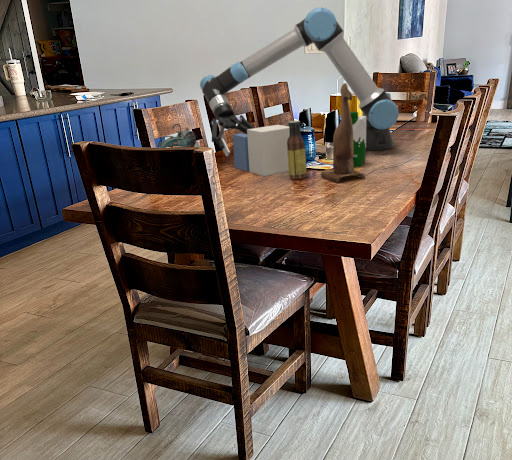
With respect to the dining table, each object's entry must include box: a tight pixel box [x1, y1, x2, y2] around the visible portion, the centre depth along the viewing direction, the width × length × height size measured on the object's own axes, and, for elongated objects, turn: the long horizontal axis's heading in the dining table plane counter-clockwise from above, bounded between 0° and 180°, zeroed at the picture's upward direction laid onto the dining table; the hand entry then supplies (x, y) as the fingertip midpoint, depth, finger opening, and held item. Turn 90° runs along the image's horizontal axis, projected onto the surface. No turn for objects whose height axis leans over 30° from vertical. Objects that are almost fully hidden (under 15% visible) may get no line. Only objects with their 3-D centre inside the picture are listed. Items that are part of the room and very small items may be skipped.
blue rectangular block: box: [232, 132, 250, 172], centre depth 198 cm, size 9×4×13 cm, turn 33°
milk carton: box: [350, 111, 367, 168], centre depth 191 cm, size 9×9×20 cm
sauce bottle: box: [287, 120, 308, 180], centre depth 177 cm, size 7×6×20 cm
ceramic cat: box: [157, 123, 197, 148], centre depth 186 cm, size 20×6×20 cm, turn 145°
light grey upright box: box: [247, 124, 290, 177], centre depth 196 cm, size 22×16×16 cm
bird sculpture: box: [320, 82, 366, 184], centre depth 171 cm, size 11×12×32 cm
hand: (243, 151), depth 197 cm, fingers open, 13 cm apart
